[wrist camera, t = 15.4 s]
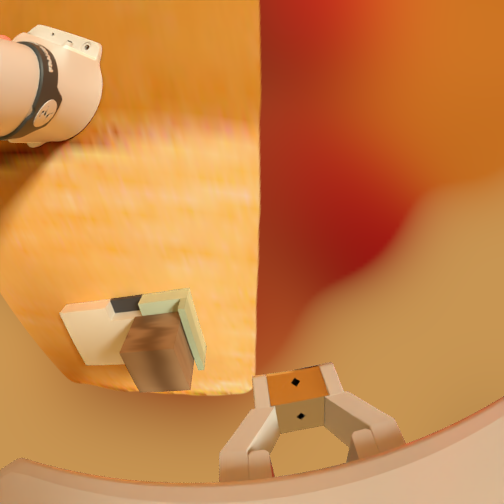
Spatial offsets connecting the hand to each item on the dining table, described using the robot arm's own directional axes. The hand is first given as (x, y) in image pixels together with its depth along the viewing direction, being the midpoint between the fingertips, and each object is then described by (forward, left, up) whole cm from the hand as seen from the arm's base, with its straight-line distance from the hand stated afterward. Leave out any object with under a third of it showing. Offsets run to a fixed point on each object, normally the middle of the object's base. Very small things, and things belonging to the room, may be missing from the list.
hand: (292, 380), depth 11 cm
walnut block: (+4, -25, -31) cm, 40 cm away
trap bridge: (0, -30, -34) cm, 45 cm away
